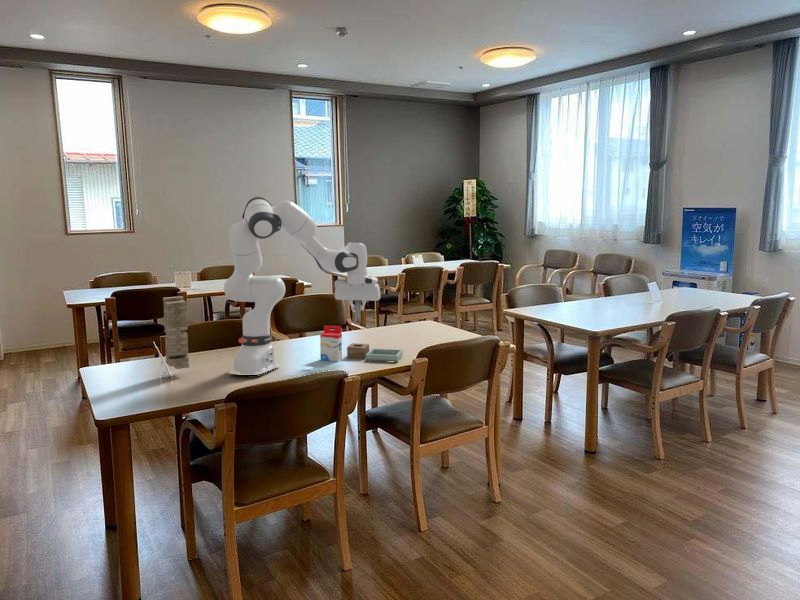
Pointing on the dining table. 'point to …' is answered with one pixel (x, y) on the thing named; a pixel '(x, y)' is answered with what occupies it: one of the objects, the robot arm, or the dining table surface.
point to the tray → (384, 355)
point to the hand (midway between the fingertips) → (357, 310)
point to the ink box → (331, 344)
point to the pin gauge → (357, 311)
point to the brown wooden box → (357, 351)
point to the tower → (176, 332)
